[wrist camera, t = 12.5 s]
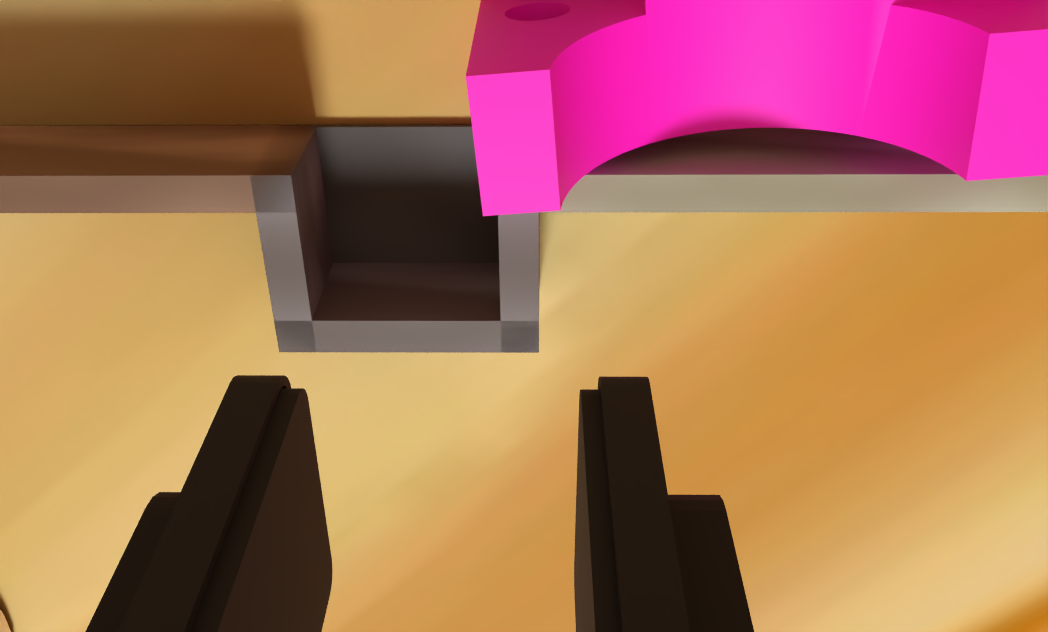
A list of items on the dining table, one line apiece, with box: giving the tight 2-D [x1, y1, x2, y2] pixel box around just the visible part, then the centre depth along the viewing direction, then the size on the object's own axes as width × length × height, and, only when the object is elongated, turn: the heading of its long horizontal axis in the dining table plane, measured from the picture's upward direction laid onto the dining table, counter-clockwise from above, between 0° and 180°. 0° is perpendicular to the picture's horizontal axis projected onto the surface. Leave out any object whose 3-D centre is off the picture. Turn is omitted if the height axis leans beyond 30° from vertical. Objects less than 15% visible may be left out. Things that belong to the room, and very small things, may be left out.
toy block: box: [466, 0, 1048, 216], centre depth 27 cm, size 15×6×8 cm, turn 95°
